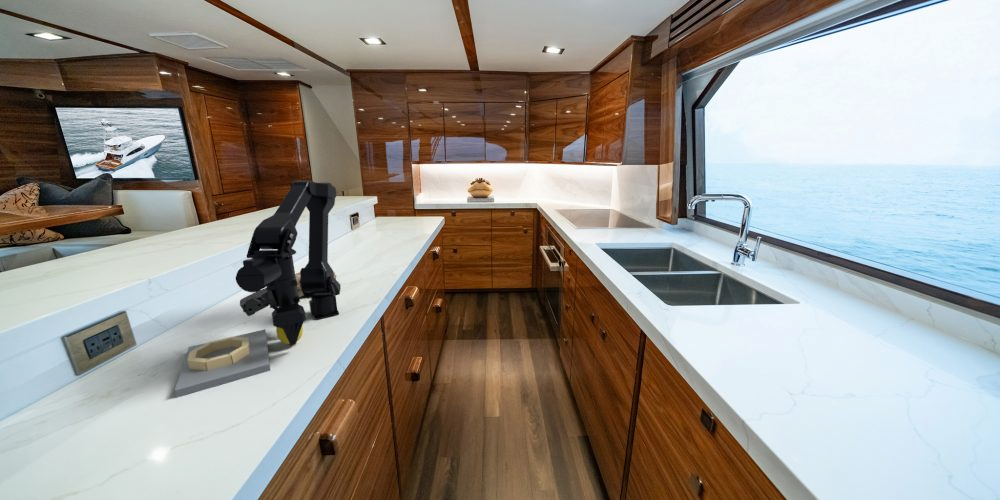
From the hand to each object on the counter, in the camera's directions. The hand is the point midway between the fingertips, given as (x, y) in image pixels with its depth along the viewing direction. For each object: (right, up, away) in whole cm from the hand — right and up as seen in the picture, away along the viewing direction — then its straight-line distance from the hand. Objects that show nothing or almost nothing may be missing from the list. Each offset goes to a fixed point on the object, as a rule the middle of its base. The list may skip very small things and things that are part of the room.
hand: (291, 336), depth 83 cm
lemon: (0, -2, +1) cm, 2 cm away
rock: (-18, +6, +36) cm, 41 cm away
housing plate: (-10, -4, -7) cm, 13 cm away
